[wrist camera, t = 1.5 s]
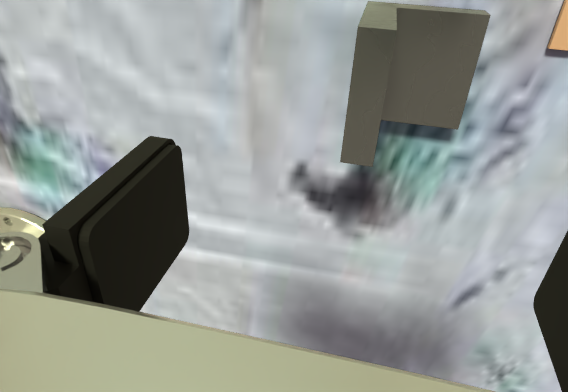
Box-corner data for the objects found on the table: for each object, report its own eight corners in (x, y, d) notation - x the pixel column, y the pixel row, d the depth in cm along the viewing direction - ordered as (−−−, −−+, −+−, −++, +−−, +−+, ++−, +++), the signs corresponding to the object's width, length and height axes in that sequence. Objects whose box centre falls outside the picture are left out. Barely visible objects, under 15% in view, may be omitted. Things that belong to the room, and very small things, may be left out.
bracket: (368, 1, 23) (357, 26, 17) (485, 10, 22) (520, 41, 16) (353, 107, 26) (340, 162, 20) (455, 119, 25) (474, 181, 19)
